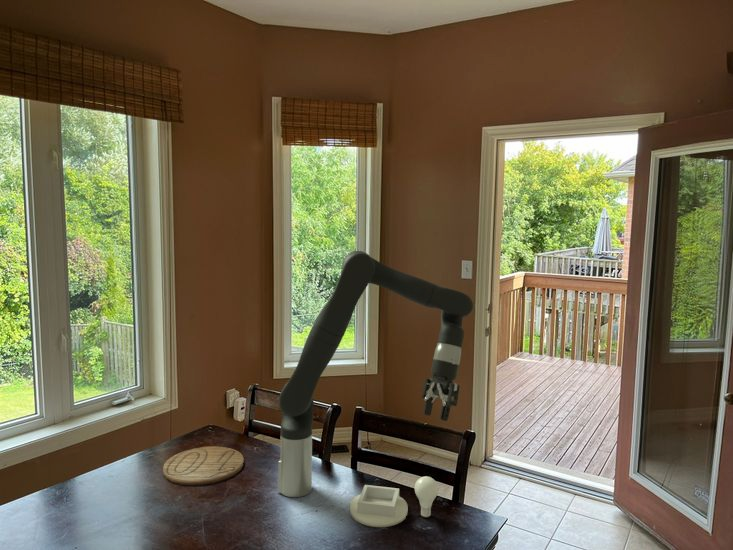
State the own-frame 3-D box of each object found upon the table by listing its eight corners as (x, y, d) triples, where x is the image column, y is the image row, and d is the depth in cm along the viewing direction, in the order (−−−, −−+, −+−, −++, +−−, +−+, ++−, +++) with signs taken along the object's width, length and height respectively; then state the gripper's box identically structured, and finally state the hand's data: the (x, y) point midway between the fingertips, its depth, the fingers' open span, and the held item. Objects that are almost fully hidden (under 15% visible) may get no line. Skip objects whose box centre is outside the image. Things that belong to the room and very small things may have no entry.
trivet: (250, 452, 183) (250, 446, 183) (233, 487, 158) (233, 480, 158) (179, 451, 183) (178, 446, 183) (150, 486, 158) (150, 480, 158)
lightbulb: (436, 524, 139) (437, 484, 138) (412, 521, 140) (413, 481, 139) (438, 511, 145) (439, 473, 144) (415, 509, 147) (416, 471, 146)
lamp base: (343, 523, 139) (344, 506, 139) (356, 493, 155) (356, 478, 154) (403, 530, 136) (404, 513, 136) (410, 499, 152) (410, 484, 151)
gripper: (422, 356, 156) (410, 411, 153) (450, 360, 143) (438, 419, 140) (442, 362, 159) (431, 415, 156) (471, 366, 146) (460, 424, 143)
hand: (434, 417), depth 148 cm, fingers open, 8 cm apart
